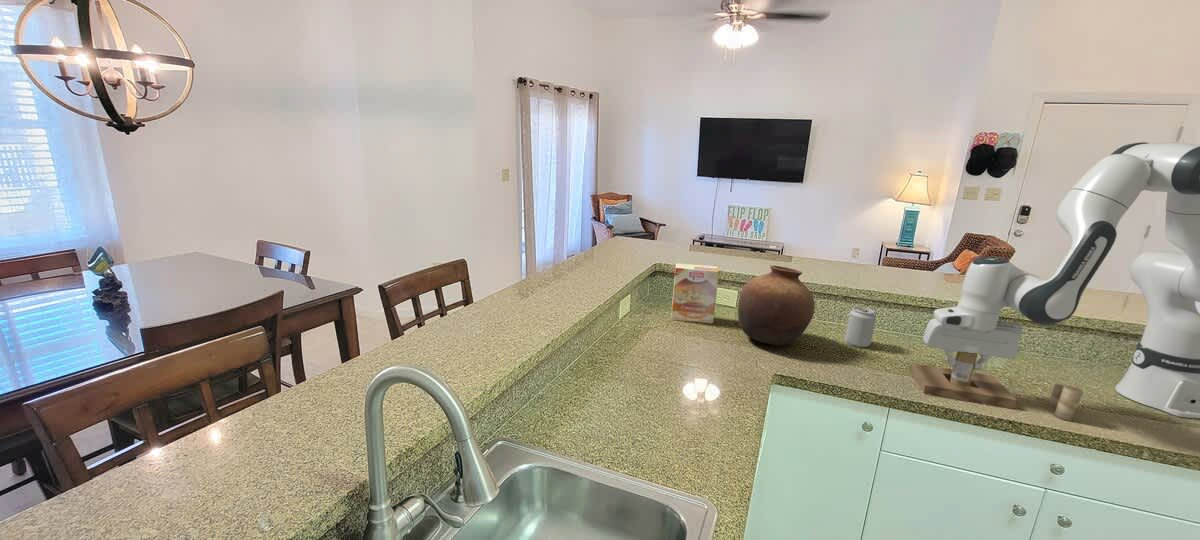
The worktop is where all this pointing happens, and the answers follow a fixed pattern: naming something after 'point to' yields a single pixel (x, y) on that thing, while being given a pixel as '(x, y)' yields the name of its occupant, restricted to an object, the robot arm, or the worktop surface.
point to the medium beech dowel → (1068, 403)
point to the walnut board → (962, 386)
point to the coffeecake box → (694, 293)
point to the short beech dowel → (1056, 394)
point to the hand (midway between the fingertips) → (963, 366)
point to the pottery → (775, 307)
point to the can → (860, 327)
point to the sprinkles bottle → (964, 366)
